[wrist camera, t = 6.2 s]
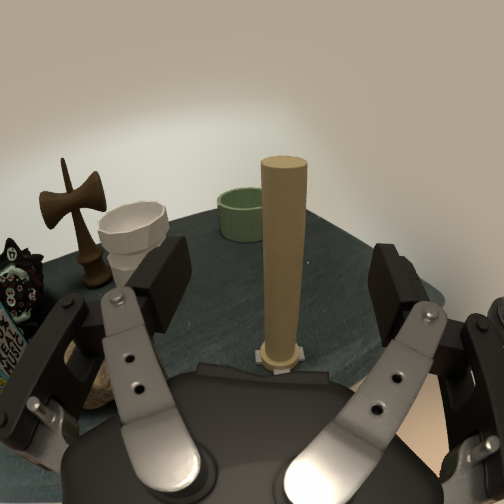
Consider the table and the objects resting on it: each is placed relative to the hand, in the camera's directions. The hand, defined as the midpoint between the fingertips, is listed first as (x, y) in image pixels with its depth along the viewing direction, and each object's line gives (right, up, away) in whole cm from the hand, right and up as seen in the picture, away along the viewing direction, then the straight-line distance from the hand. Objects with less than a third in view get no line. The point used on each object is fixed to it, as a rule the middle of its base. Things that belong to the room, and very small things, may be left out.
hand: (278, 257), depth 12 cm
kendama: (-25, -4, +29) cm, 39 cm away
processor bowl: (-2, +5, +41) cm, 41 cm away
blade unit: (+2, -11, +17) cm, 20 cm away
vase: (-15, -6, +26) cm, 30 cm away
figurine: (-36, -10, +21) cm, 43 cm away
